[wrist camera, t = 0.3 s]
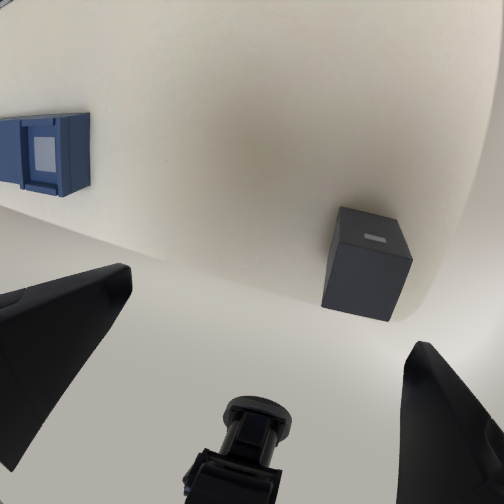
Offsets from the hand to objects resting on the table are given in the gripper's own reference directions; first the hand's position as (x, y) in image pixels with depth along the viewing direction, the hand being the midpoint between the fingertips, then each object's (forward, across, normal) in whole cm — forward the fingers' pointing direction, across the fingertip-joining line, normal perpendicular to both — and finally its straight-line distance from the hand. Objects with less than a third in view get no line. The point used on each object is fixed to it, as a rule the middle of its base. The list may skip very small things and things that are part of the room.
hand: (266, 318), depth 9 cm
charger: (+14, -4, +2) cm, 14 cm away
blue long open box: (+14, +28, 0) cm, 31 cm away
